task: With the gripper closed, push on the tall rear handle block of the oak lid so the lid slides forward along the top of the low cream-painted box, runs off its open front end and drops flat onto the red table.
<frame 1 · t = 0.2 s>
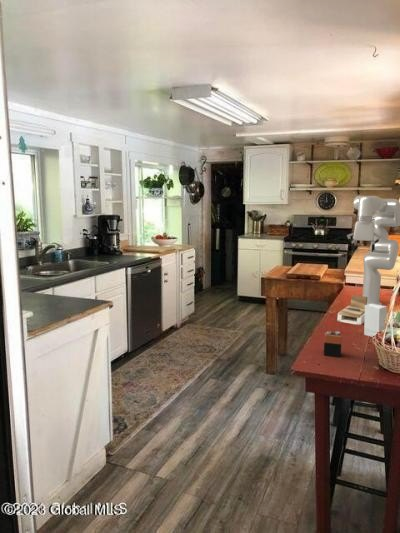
hand: (362, 251, 235), 35 cm above the table, tool pointing down, fingers open, 9 cm apart
box: (354, 319, 231), on the table
lid: (354, 312, 230), point 3 cm above the table, touching box
skincare box: (374, 336, 204), on the table
battery: (332, 355, 181), on the table
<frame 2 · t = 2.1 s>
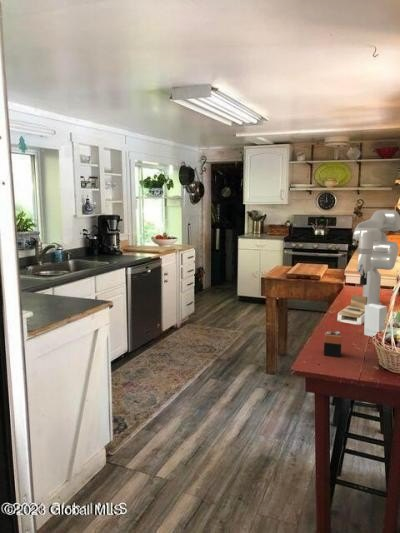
hand: (363, 284, 239), 16 cm above the table, tool pointing down, fingers closed
nothing on the table moved.
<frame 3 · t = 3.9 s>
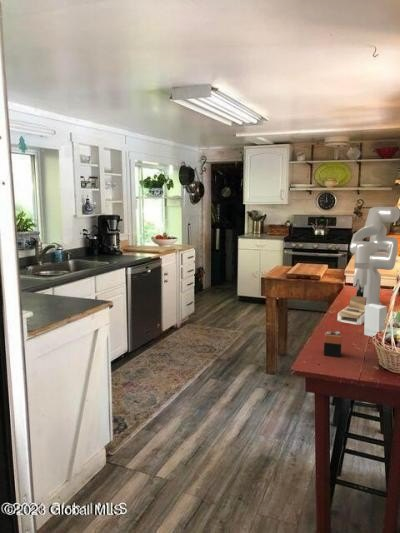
hand: (359, 298, 236), 9 cm above the table, tool pointing down, fingers closed
lid: (353, 313, 229), point 4 cm above the table, touching box, gripper
everything else where it was.
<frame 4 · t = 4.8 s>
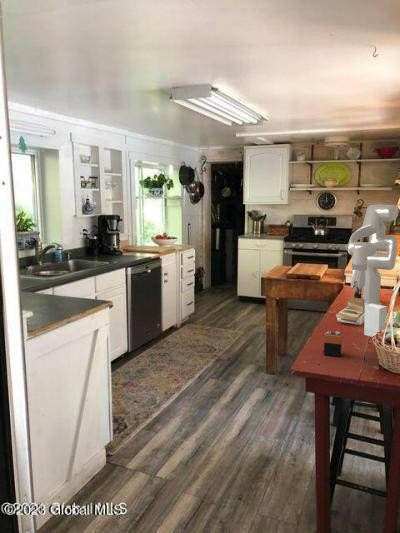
hand: (357, 300, 233), 9 cm above the table, tool pointing down, fingers closed
lid: (351, 315, 226), point 3 cm above the table, touching box, gripper
everything else where it was.
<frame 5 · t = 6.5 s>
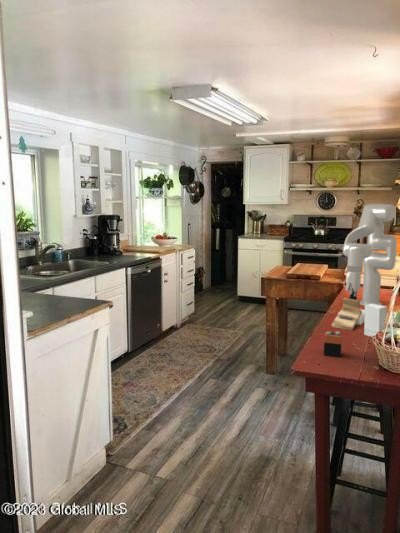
hand: (352, 303, 226), 9 cm above the table, tool pointing down, fingers closed
lid: (347, 319, 221), point 3 cm above the table, tilted 18°, touching gripper
everything else where it was.
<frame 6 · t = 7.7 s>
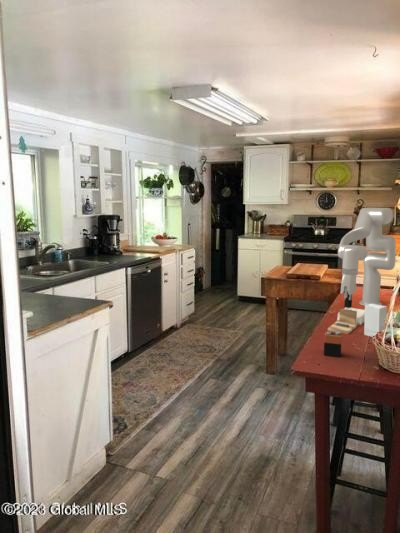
hand: (347, 307, 220), 9 cm above the table, tool pointing down, fingers closed
lid: (343, 328, 217), on the table
everything else where it was.
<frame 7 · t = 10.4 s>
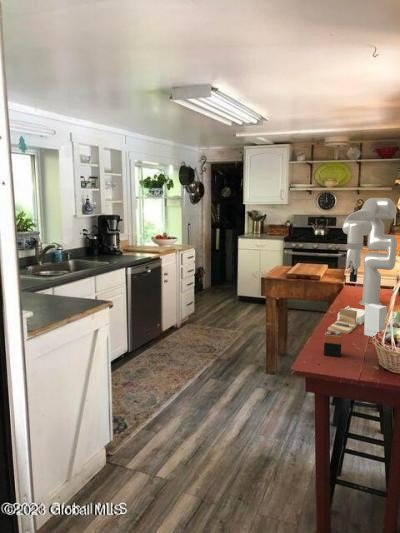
hand: (353, 281, 223), 21 cm above the table, tool pointing down, fingers closed
nothing on the table moved.
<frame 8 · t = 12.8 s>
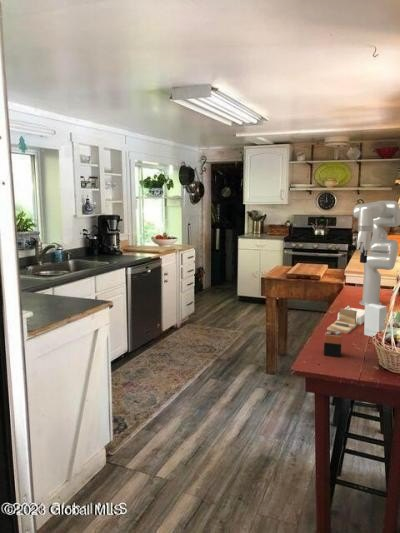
hand: (363, 262, 235), 29 cm above the table, tool pointing down, fingers closed
nothing on the table moved.
at the end: lid inside the target area (9.8 cm from its centre), on the table; lid tilted 0° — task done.
